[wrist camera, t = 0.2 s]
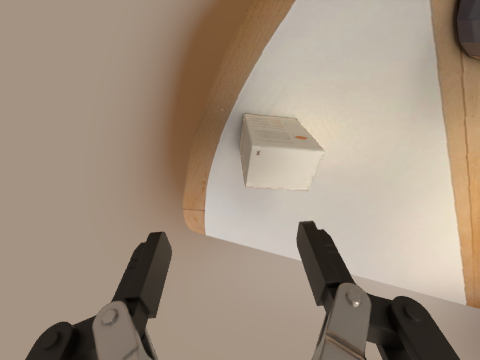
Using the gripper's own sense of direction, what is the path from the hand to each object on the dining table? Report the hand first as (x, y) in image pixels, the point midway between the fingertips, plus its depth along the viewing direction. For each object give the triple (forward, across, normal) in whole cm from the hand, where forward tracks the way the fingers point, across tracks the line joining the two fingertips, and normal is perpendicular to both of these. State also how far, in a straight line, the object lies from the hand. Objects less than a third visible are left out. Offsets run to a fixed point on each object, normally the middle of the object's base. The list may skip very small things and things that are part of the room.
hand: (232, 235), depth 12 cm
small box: (+21, -6, +2) cm, 22 cm away
